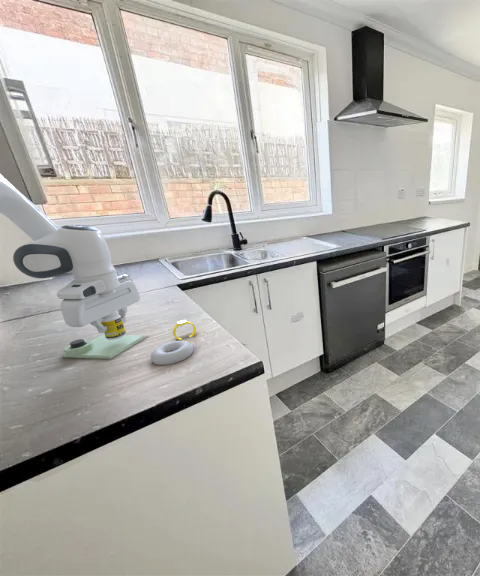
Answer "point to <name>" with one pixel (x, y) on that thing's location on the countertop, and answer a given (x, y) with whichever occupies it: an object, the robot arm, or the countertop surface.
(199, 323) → the countertop surface
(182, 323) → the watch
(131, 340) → the scale
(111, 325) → the supplement bottle
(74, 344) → the button
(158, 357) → the donut
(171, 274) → the countertop surface
